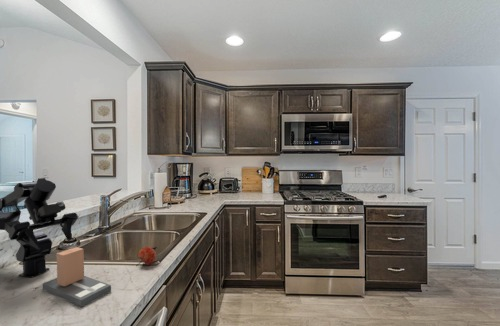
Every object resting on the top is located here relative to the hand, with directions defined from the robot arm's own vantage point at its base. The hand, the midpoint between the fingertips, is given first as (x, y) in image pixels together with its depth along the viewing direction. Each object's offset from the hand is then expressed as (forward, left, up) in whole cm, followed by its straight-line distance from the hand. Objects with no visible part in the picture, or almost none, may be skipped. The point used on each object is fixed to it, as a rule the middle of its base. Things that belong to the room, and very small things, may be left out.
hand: (55, 244), depth 83 cm
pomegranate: (+23, +18, -14) cm, 32 cm away
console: (+12, -3, -13) cm, 18 cm away
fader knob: (+9, -3, -11) cm, 15 cm away
